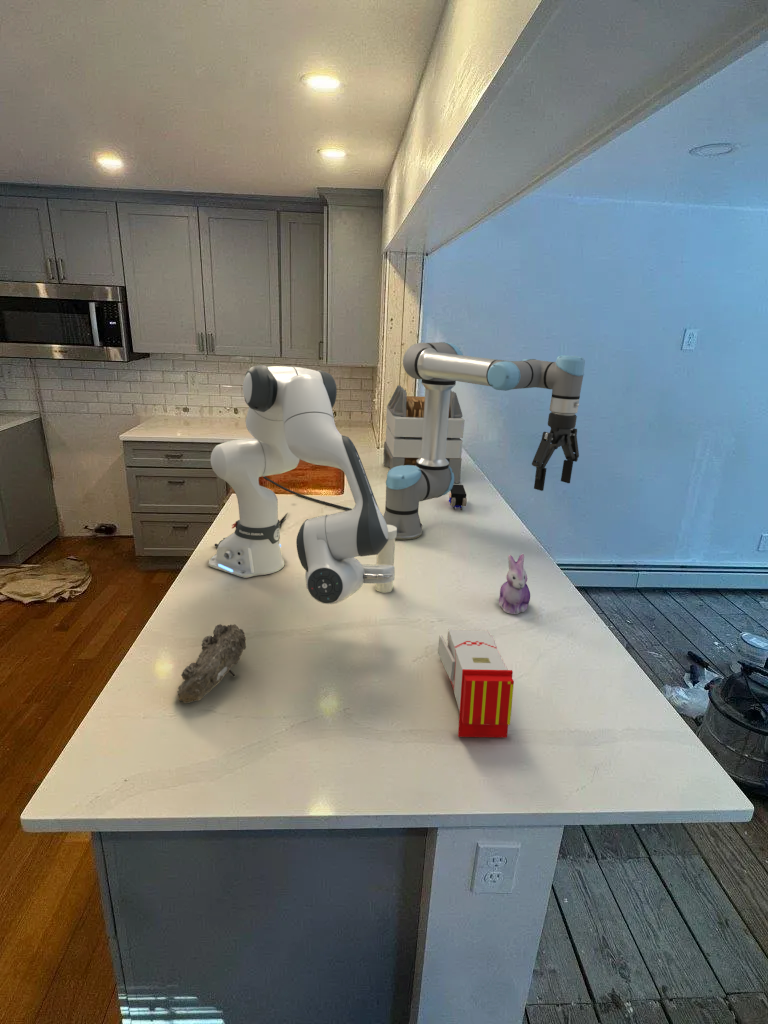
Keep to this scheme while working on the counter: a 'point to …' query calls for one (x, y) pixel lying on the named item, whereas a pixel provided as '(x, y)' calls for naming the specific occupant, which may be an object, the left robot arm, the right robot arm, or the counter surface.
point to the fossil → (212, 662)
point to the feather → (282, 520)
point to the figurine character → (457, 496)
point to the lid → (391, 532)
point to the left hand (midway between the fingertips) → (357, 569)
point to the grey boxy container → (419, 431)
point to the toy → (478, 682)
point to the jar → (386, 559)
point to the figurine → (515, 588)
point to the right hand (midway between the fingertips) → (552, 485)
